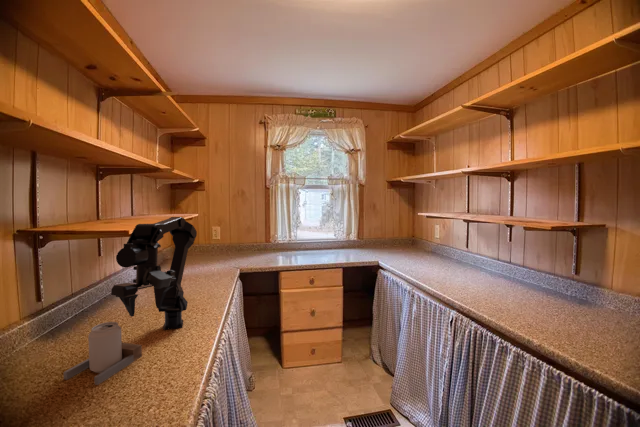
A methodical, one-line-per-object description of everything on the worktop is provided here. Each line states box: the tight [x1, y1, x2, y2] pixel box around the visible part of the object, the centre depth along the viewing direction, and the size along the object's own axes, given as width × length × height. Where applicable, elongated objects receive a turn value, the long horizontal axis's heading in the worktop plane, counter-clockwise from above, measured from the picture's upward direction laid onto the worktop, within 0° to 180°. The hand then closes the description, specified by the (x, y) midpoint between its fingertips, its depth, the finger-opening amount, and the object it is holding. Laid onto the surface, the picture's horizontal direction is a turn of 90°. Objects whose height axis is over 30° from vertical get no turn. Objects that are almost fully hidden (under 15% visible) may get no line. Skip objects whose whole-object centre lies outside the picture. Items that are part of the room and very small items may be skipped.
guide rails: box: [63, 355, 135, 386], centre depth 80 cm, size 11×11×2 cm
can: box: [87, 321, 123, 374], centre depth 82 cm, size 8×8×12 cm
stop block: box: [122, 342, 143, 362], centre depth 87 cm, size 3×11×4 cm, turn 78°
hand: (145, 312), depth 91 cm, fingers open, 9 cm apart
